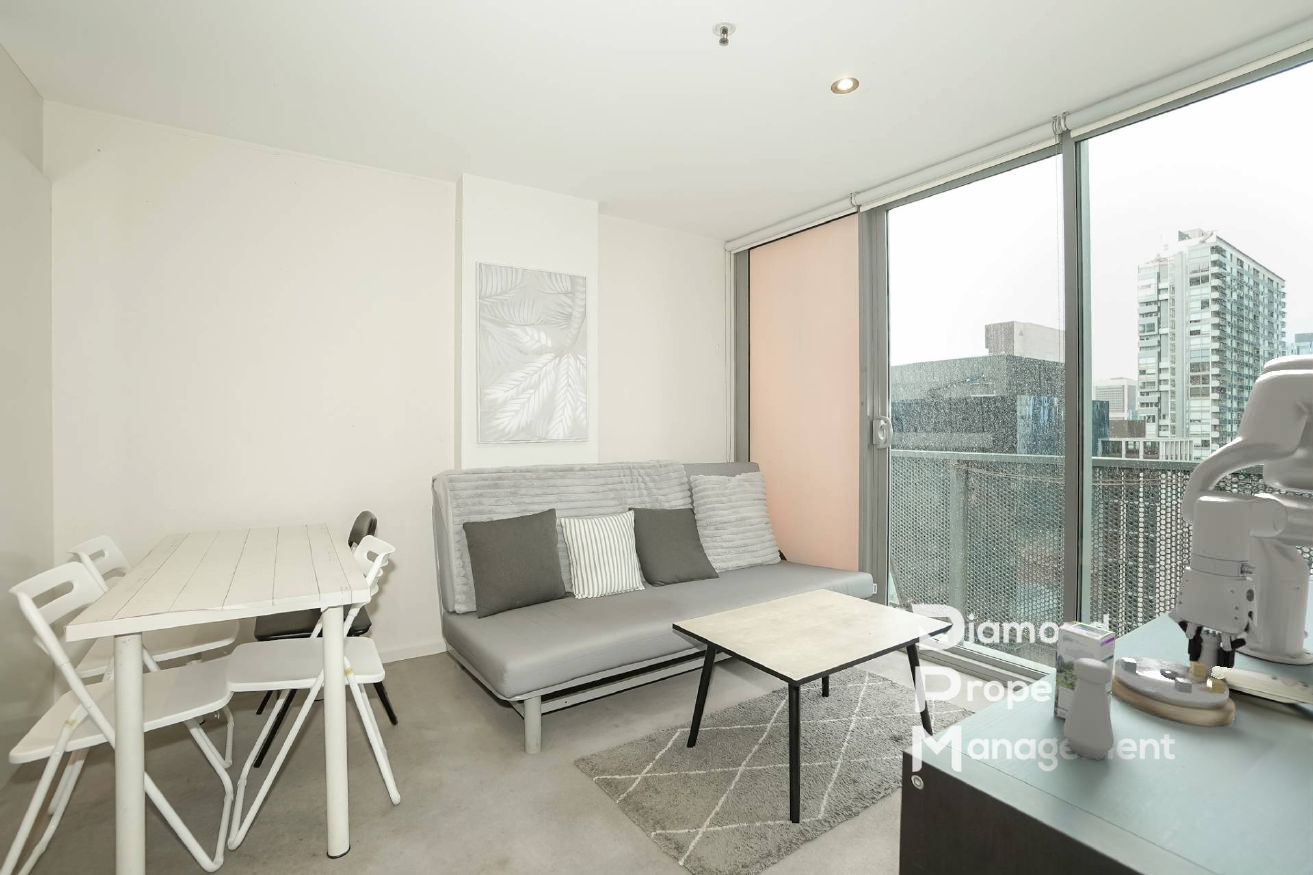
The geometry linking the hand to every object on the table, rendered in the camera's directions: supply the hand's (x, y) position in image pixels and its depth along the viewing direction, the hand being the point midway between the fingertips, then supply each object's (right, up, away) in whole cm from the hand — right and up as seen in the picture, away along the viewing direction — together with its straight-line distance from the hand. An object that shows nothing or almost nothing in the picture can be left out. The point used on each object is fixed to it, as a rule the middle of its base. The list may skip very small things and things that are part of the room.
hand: (1209, 664), depth 110 cm
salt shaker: (-40, -3, -24) cm, 47 cm away
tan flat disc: (-16, -2, -9) cm, 18 cm away
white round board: (-16, 0, -10) cm, 18 cm away
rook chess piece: (0, -2, 0) cm, 2 cm away
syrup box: (-35, -3, -16) cm, 38 cm away
